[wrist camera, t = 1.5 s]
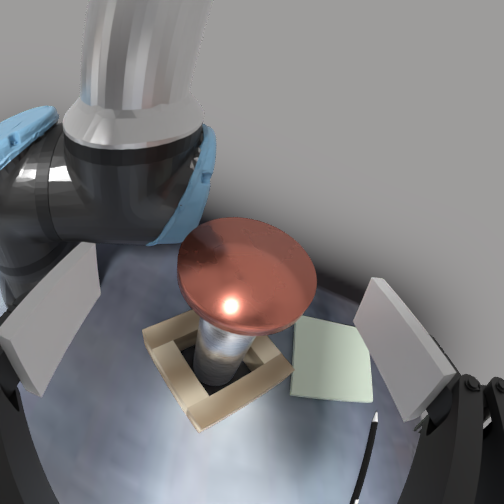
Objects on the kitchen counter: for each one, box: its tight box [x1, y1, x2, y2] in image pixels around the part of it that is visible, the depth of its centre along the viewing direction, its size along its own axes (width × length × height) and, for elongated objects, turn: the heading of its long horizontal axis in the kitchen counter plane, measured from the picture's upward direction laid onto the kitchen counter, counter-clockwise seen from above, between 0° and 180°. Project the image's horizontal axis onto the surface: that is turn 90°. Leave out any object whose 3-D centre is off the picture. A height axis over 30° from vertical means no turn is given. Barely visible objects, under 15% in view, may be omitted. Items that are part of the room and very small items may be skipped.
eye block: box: [142, 309, 295, 433], centre depth 28 cm, size 12×12×4 cm
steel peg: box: [177, 217, 317, 386], centre depth 23 cm, size 9×9×18 cm
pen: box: [350, 411, 378, 504], centre depth 22 cm, size 1×19×1 cm, turn 158°
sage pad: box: [290, 315, 373, 403], centre depth 34 cm, size 12×12×1 cm
